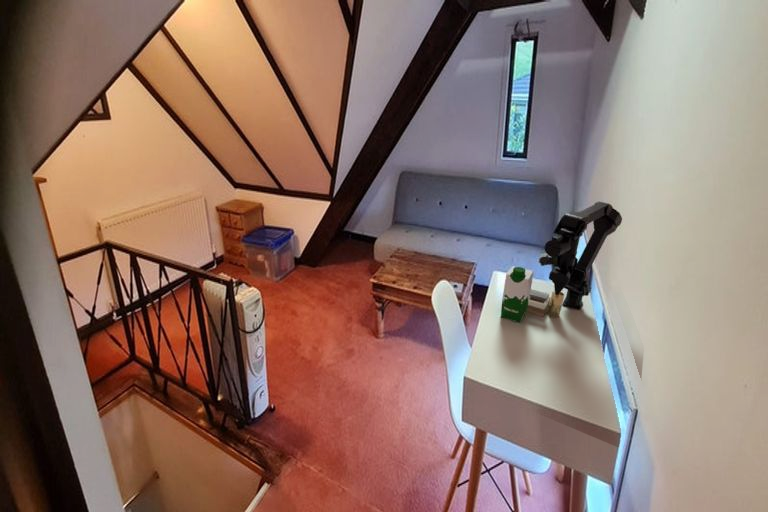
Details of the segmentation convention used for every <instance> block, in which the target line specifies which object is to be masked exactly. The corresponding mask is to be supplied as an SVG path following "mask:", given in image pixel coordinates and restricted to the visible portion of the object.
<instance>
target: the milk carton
mask: <svg viewBox="0 0 768 512" xmlns="http://www.w3.org/2000/svg"><path fill="white" fill-rule="evenodd" d="M534 272H535V271H534V270H531V269H525V268H524V267H520V266H514V265H512V266H511V268H509V270H508V271H507V273H506V274H505V279H504V285H503V293H502V299H501V309H500V311H501V312H500V318H504V319H506V320H510V321H512V322H513V321H514V322H516V323H521V322H522V320H523V318H524V316H525V314H526V313H527V312H526V309H527V306H528V302H529V297H530V291H531V289H532V284H533V277H534Z"/></svg>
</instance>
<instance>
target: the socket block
mask: <svg viewBox="0 0 768 512" xmlns="http://www.w3.org/2000/svg"><path fill="white" fill-rule="evenodd" d="M550 301H551V296H550V293H547V292H545V291H544V292H543V291H539V290H537V289H532V288H531V291H530V297H529V302H528V306H527V309H526V312H525V313H531V314H533V315H536V316H539V317H544V315H545V314H546V311H547V309H549V306H550Z"/></svg>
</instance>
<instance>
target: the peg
mask: <svg viewBox="0 0 768 512" xmlns="http://www.w3.org/2000/svg"><path fill="white" fill-rule="evenodd" d="M550 297H551V300H550V304H549V306H548V312H547V315H548V316H549V317H551V318H560V316H561V310H562V306H563V305H562V304H563V302H564V299H565V298H564V297H565V294H564V292H563V291H561V292H560V293H559V295H556V294H555V290H553V291H552V292H551V296H550Z"/></svg>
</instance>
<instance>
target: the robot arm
mask: <svg viewBox="0 0 768 512" xmlns="http://www.w3.org/2000/svg"><path fill="white" fill-rule="evenodd" d="M622 221H623V217H622V215H621V213H620V212H619V211H618V210H617V209H615V208H614V207H613V205H612V204H610V203H607V202H603V201H596V202H595V203H594V204H593V205H591V206H589V207H587V208H585V209H583V210H581V211H570V212H566V213H565V214H563V215H562V216H561V217H560V220H559V222H558V223H557V226H555V228H554V231H553V234H555V235H554V236H551V237H552V238H551V239H550V240H548V241H546V242H545V244H544V251H545V253H543V252H542V253H541V254H540V255H539V257H538V260H539V261H538V263H539V264H540V266H541V267H544V266H552V265H553V267H555V268H553V269H551V271H550V272H549V273H548V279H549V280H550V281H552V282H553V287H554V291H555V294H556V295H559V293H560V292H563V289H565V290H567V292H566V295H565V296H564V297H565V298H563V302H562V306H565V307H567V308H572V309H575V310H580V311H581V309H582V306H583V304H584V301H583V297H587V296H589V294H590V292H591V290H592V287H591V284H590V283H589V282H590V280H591V276H590V269H591V268H592V266H593V264H594V262H595V260H596V258H597V256H598V254H599V252H600V250H601V248H602V247H603V245H604V243H605V241H606V240H607V237H608V236H609V235H611V234H613V233H615V232H616V230H617V229H618V227H619V226H621V224H622ZM590 223H592V224H593V232H592V234H591V236H590V238H589V240H587V241H588V242H587V244H586V246H585V247H584V249H583V251H582V254H581V255H580V257H579V259H578V258H577V254H578V248H579V244H580V238H581V237H582V236H583V234H584V232H585V231H586V230H587V228H588V225H589V224H590Z"/></svg>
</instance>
